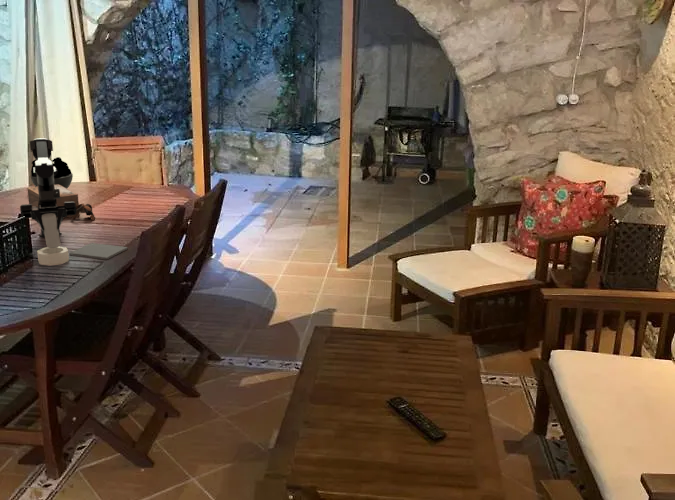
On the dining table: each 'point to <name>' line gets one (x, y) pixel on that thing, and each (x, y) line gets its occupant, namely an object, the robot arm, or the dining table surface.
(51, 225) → the beverage can
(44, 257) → the holder ring
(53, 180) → the robot arm
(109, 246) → the rubber mat
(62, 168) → the coal bowl
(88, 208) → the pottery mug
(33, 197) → the tissue box cover
